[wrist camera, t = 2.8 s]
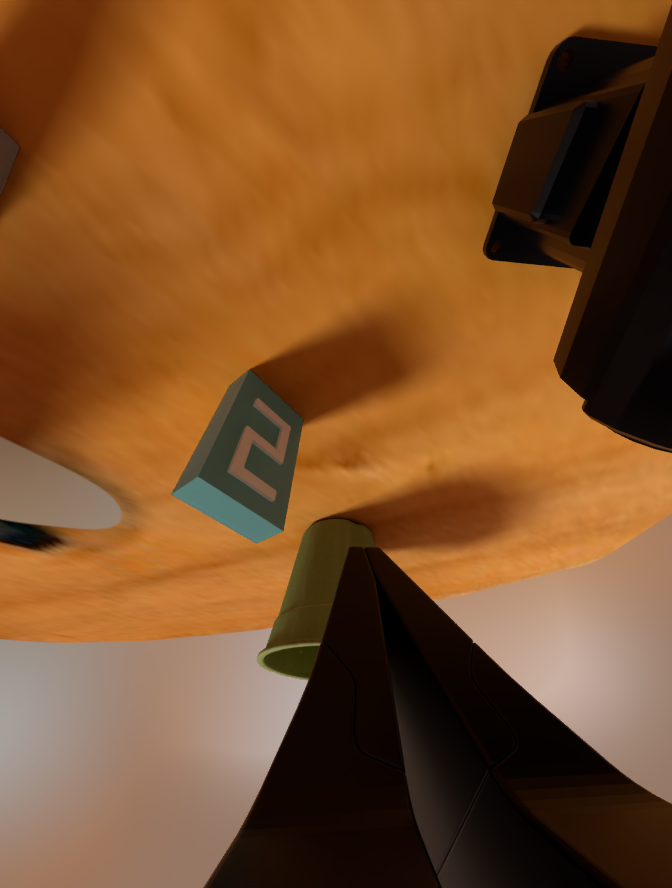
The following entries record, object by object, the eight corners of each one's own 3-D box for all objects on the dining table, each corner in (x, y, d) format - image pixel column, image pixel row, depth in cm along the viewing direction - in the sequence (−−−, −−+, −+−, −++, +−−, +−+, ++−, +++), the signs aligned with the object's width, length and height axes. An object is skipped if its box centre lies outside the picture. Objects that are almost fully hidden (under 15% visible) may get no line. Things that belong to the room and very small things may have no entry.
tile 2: (252, 366, 20) (201, 474, 13) (305, 418, 22) (286, 529, 15) (227, 387, 21) (168, 496, 14) (281, 434, 23) (252, 544, 16)
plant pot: (257, 532, 32) (224, 662, 24) (345, 484, 27) (342, 631, 18) (333, 574, 38) (328, 691, 30) (418, 542, 33) (442, 674, 24)
